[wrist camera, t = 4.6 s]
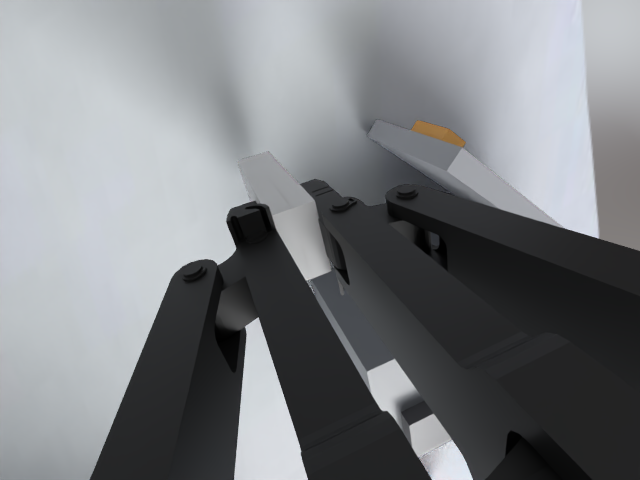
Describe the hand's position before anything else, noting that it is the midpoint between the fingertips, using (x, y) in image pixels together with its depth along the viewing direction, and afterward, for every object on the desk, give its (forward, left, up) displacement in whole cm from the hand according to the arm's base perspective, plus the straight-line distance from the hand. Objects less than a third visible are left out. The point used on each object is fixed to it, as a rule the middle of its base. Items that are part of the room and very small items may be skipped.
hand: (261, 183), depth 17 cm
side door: (+11, -3, -2) cm, 11 cm away
